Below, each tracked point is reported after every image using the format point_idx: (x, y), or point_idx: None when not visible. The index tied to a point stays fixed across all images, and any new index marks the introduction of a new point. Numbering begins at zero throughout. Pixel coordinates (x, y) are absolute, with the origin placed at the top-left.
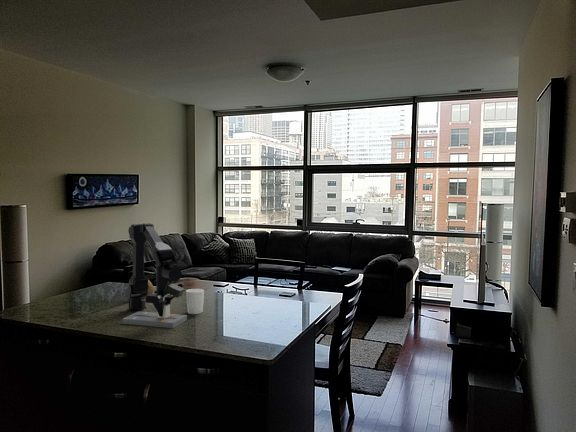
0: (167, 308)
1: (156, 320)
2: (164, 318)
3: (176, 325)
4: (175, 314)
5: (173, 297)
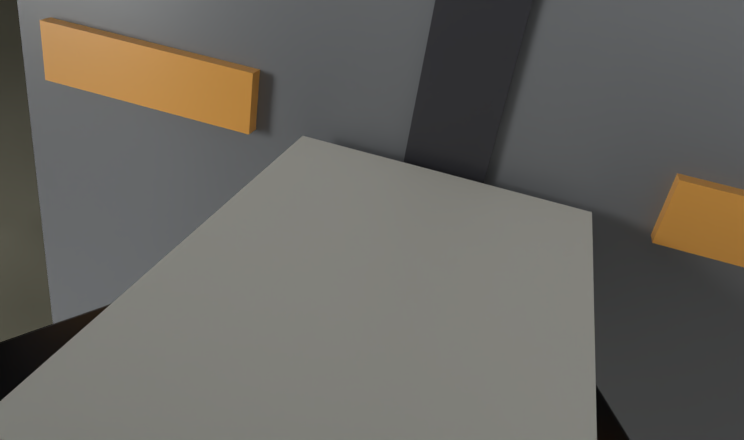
0: (383, 396)
1: (738, 435)
2: None
3: None
4: (54, 18)
5: None
